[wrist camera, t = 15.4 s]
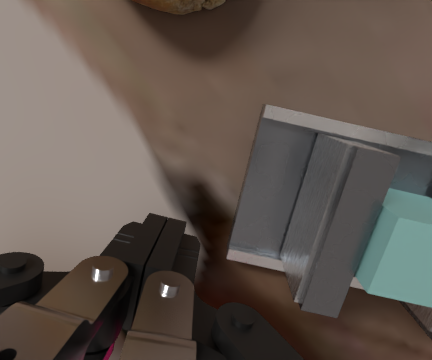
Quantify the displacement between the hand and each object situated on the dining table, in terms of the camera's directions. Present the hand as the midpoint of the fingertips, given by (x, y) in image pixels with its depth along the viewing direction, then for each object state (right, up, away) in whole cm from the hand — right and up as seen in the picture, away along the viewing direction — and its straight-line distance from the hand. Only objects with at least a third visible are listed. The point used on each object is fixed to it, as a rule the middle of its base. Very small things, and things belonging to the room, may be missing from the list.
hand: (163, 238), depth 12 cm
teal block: (+13, 0, +9) cm, 16 cm away
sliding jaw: (+9, +1, +8) cm, 12 cm away
